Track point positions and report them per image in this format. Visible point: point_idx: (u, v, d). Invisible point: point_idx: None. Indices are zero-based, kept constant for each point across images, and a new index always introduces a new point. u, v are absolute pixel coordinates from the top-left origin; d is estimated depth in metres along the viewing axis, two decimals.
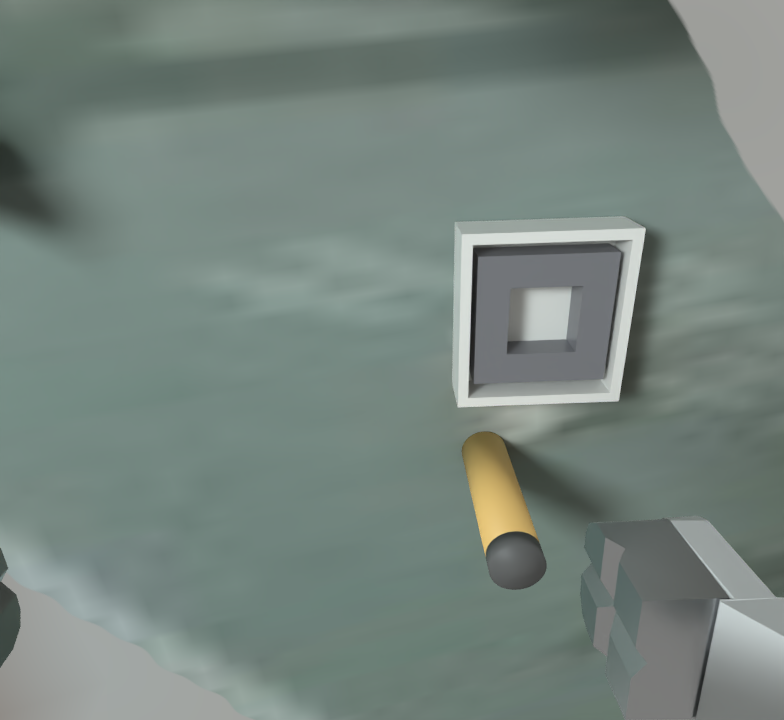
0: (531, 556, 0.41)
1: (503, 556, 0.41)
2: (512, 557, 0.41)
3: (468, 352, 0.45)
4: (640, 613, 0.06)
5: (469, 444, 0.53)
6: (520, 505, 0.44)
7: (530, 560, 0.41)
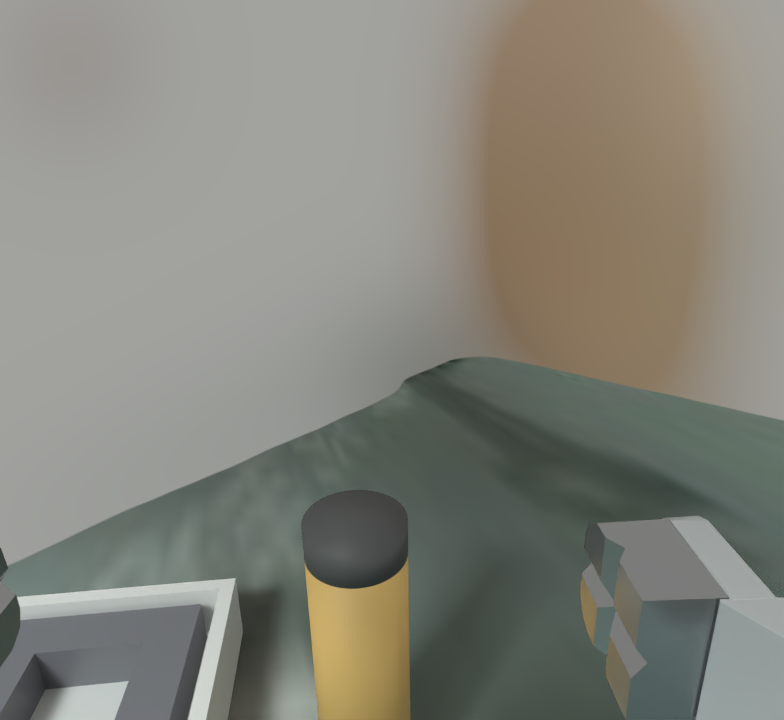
0: (326, 508, 0.23)
1: (323, 539, 0.21)
2: (327, 528, 0.22)
3: None
4: (640, 613, 0.06)
5: None
6: None
7: (336, 508, 0.23)
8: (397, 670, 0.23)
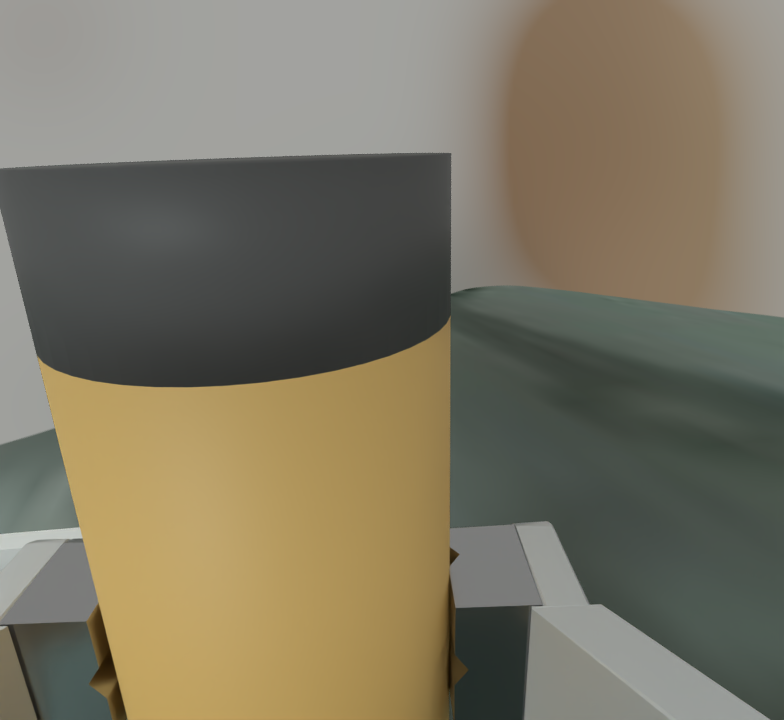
0: None
1: (66, 167, 0.04)
2: (110, 164, 0.05)
3: None
4: (456, 620, 0.06)
5: None
6: None
7: (185, 161, 0.06)
8: None
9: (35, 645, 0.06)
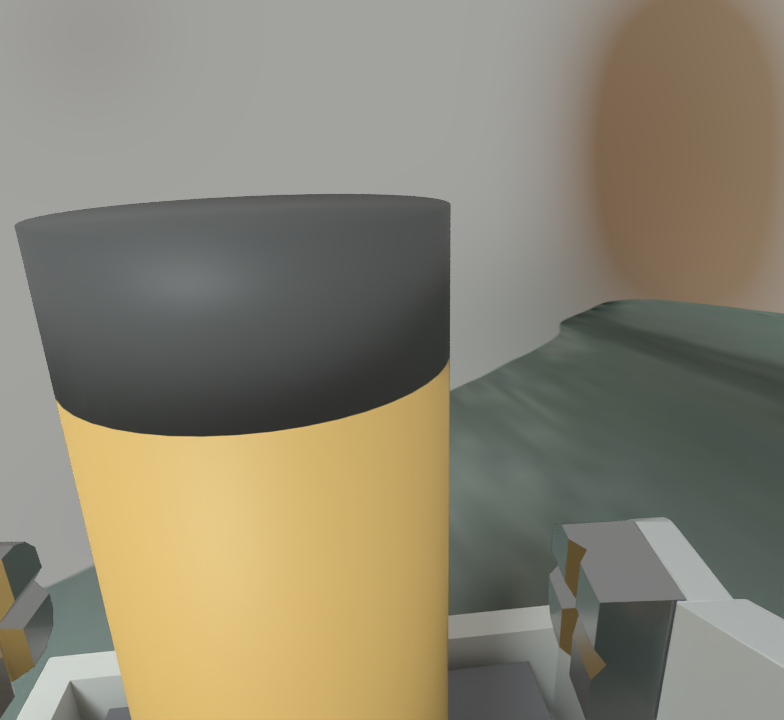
0: (161, 205, 0.07)
1: (86, 226, 0.05)
2: (126, 217, 0.05)
3: None
4: (598, 615, 0.06)
5: None
6: None
7: (195, 205, 0.07)
8: None
9: None
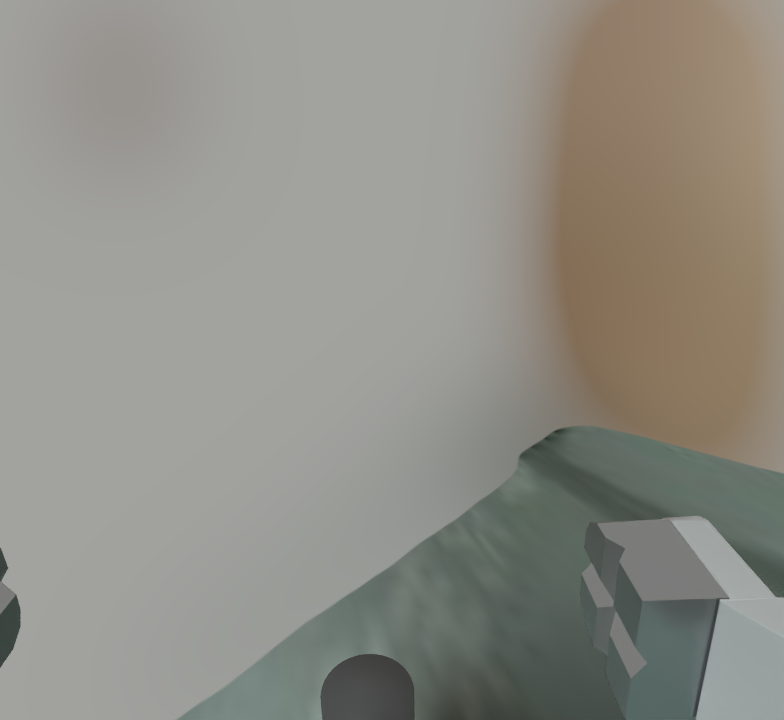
0: (342, 677, 0.26)
1: (340, 717, 0.24)
2: (343, 703, 0.25)
3: None
4: (640, 613, 0.06)
5: None
6: None
7: (350, 677, 0.26)
8: None
9: None
